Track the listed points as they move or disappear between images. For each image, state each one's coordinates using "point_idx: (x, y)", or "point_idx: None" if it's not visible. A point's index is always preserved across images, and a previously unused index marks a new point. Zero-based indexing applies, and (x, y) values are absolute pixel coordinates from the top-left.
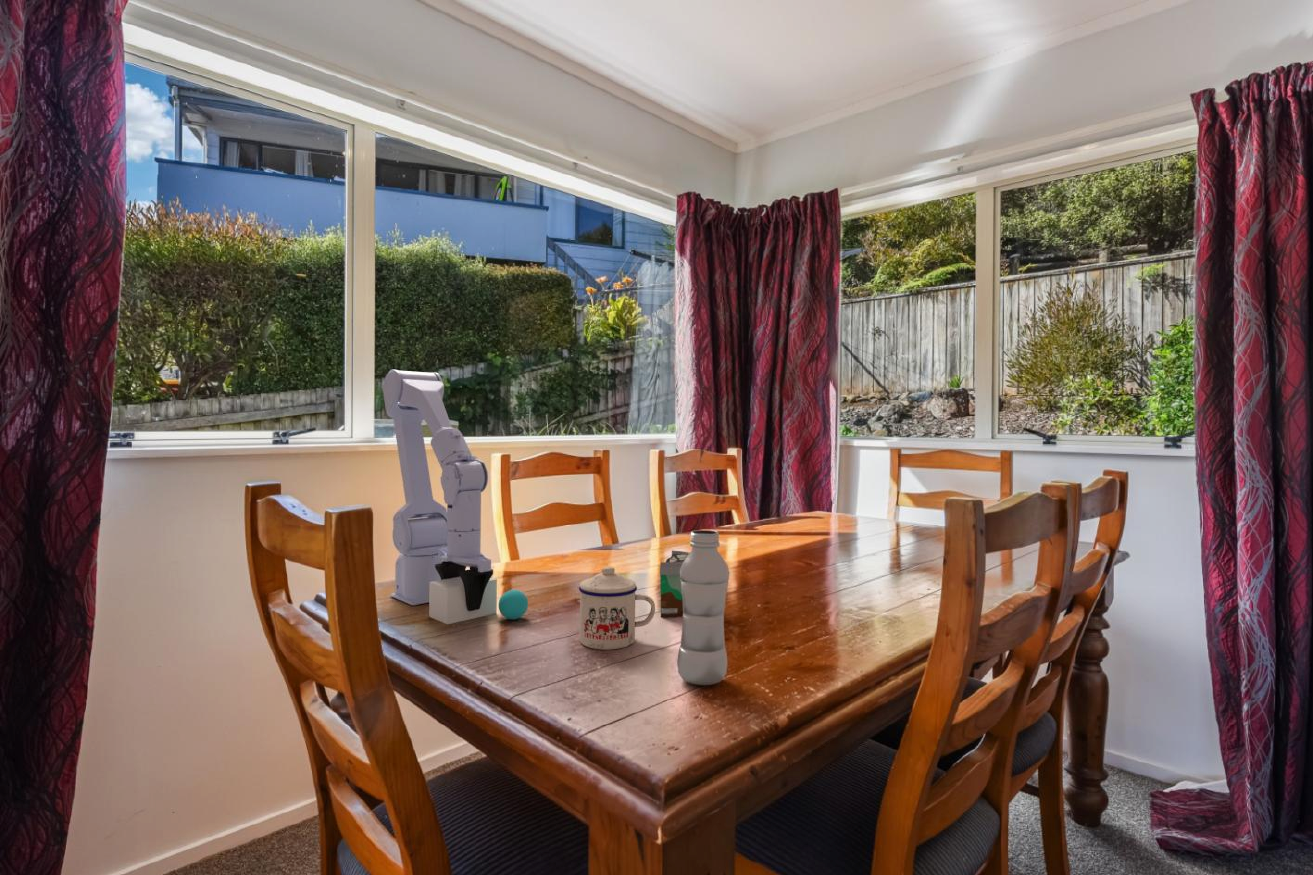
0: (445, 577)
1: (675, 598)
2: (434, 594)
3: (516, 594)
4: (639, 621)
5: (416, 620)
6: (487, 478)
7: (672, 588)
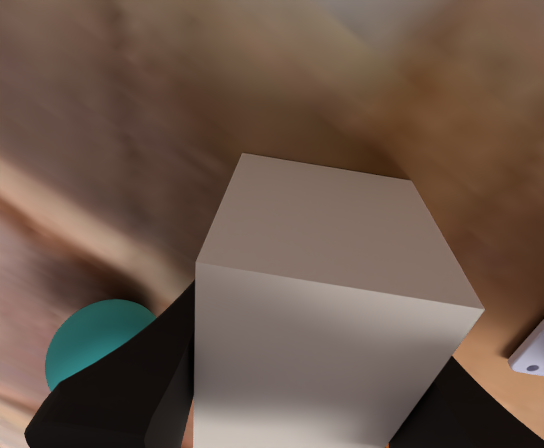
0: (437, 400)
1: None
2: (384, 242)
3: (52, 389)
4: None
5: (427, 106)
6: None
7: None
